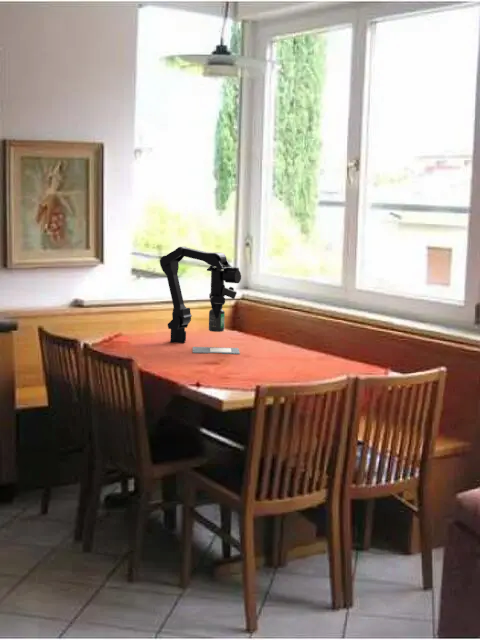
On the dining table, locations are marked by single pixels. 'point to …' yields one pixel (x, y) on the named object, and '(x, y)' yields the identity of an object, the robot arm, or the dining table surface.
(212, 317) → the supplement bottle
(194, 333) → the dining table surface
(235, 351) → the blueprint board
